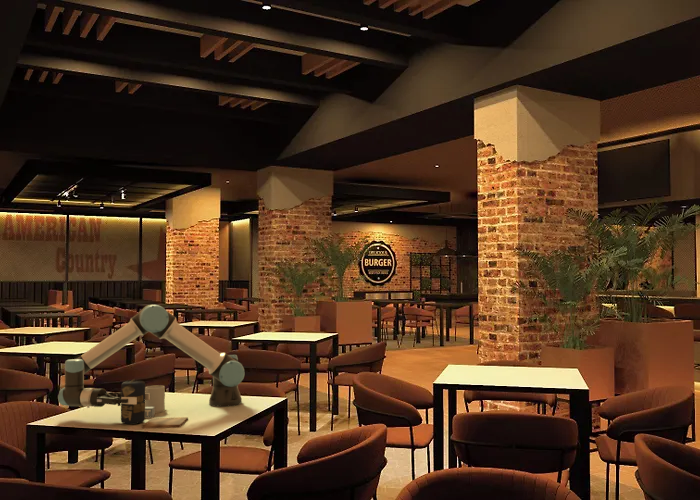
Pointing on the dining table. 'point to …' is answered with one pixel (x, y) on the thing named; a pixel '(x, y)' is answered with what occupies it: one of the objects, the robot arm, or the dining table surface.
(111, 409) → the dining table surface
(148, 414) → the letter cube
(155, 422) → the walnut board
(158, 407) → the mug
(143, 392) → the canister
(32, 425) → the dining table surface
